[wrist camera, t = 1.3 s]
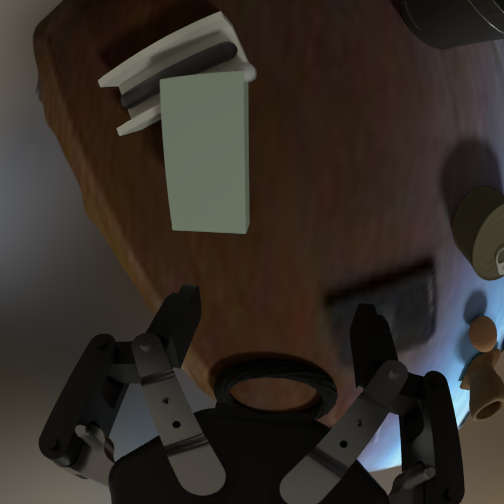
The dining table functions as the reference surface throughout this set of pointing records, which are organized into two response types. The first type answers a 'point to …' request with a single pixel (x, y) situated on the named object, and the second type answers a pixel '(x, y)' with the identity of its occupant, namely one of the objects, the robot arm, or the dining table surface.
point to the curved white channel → (173, 66)
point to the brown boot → (484, 386)
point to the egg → (483, 333)
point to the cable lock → (278, 371)
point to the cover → (207, 149)
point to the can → (481, 231)
